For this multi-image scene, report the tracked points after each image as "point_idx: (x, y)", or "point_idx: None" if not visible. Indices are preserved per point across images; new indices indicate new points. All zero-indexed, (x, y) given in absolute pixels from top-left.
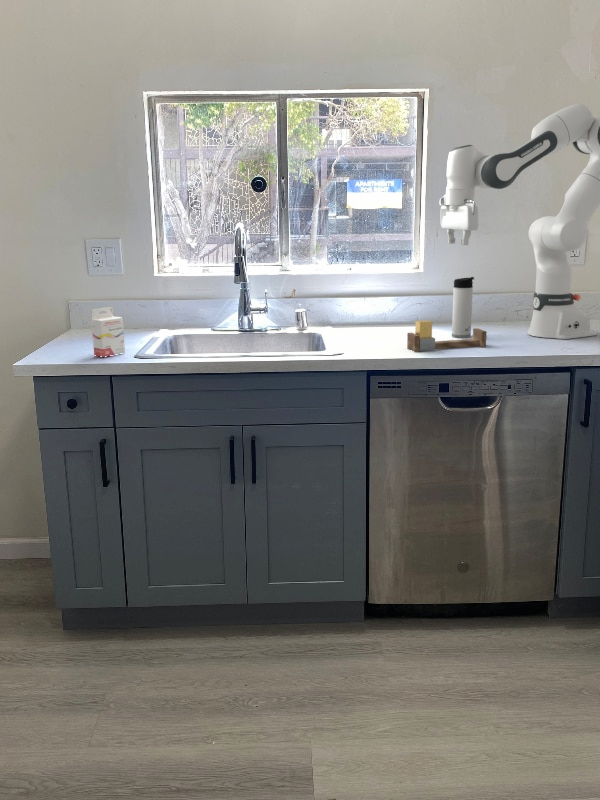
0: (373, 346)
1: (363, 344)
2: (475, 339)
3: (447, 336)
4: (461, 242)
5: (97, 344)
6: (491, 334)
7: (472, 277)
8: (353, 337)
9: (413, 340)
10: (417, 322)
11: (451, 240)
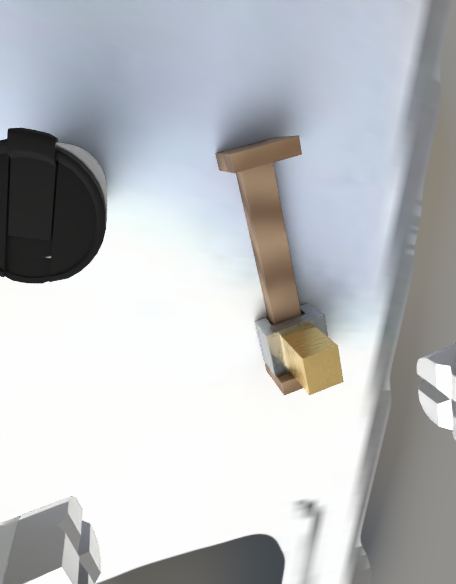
0: (228, 452)
1: (198, 477)
2: (257, 169)
3: None
4: (450, 426)
5: None
6: (7, 30)
7: (56, 150)
8: (87, 517)
9: None
10: (321, 387)
11: (88, 576)
